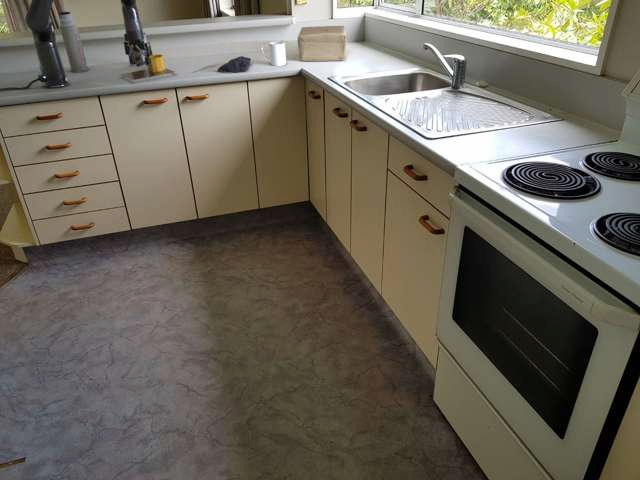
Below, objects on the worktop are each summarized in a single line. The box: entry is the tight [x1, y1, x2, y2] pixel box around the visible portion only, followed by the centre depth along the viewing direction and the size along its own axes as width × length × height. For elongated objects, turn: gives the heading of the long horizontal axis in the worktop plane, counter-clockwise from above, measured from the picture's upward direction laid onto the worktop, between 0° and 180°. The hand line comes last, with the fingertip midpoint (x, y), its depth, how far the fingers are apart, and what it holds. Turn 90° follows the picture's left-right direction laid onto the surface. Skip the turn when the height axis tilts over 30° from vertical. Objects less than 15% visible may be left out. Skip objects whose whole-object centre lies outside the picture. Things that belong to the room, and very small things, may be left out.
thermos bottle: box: [58, 11, 89, 73], centre depth 257 cm, size 8×8×28 cm
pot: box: [135, 54, 167, 72], centre depth 250 cm, size 17×8×6 cm, turn 157°
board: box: [120, 68, 175, 81], centre depth 250 cm, size 22×16×2 cm
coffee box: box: [123, 32, 148, 66], centre depth 267 cm, size 9×6×16 cm
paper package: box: [297, 25, 347, 62], centre depth 275 cm, size 27×26×14 cm
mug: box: [260, 41, 287, 67], centre depth 263 cm, size 12×8×10 cm, turn 87°
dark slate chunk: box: [217, 55, 252, 73], centre depth 260 cm, size 15×22×5 cm
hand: (141, 64), depth 244 cm, fingers open, 8 cm apart
